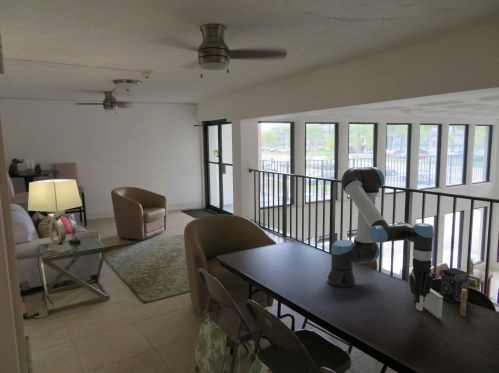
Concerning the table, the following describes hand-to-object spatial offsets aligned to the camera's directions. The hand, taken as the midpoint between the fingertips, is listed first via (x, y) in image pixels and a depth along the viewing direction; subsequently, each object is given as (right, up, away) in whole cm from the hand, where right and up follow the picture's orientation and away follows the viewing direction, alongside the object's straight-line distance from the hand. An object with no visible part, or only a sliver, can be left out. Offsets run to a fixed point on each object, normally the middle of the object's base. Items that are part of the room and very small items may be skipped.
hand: (419, 309), depth 157 cm
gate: (+7, -2, +6) cm, 9 cm away
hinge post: (+6, -2, +16) cm, 17 cm away
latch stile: (+20, -3, +2) cm, 21 cm away
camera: (+26, -2, +16) cm, 30 cm away
